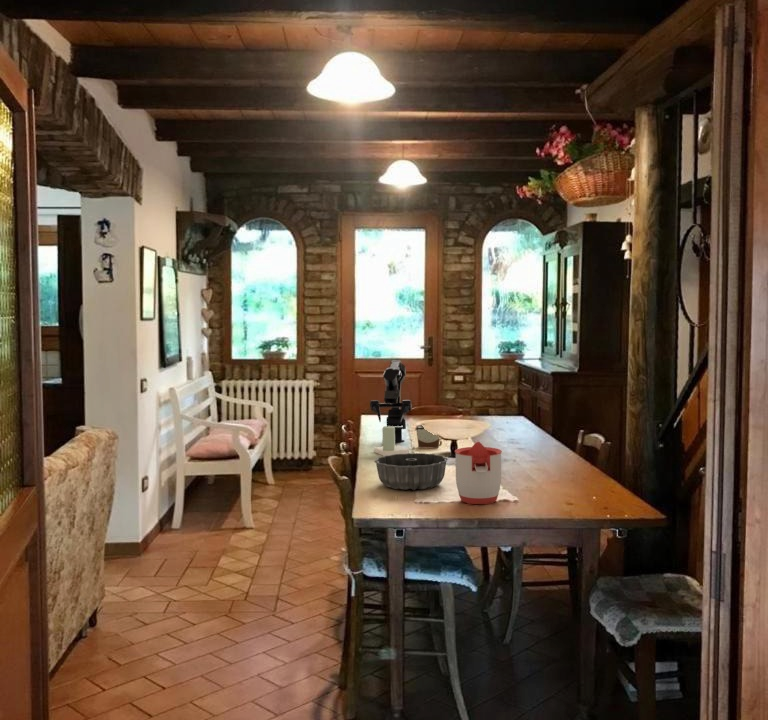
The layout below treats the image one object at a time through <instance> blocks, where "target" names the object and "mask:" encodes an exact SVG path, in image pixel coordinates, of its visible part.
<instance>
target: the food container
mask: <svg viewBox="0 0 768 720" xmlns="http://www.w3.org/2000/svg"><path fill="white" fill-rule="evenodd" d="M422 425H423V424H418V425H416V426H415V428H414V431H416V438H417V445H418V447H439V446H440V439H441V438H440V437H441V436H440V437H438V436H436V435H433V434H432V433H430V432H428V431H427V430H425V429H424V427H423V426H422Z"/></svg>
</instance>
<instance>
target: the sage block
mask: <svg viewBox="0 0 768 720" xmlns="http://www.w3.org/2000/svg"><path fill="white" fill-rule="evenodd" d="M395 427H396V426H387V425H385V426H383V427H382V447H383V451H394V450H395V446H396V442H395Z"/></svg>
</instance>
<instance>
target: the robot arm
mask: <svg viewBox="0 0 768 720" xmlns="http://www.w3.org/2000/svg"><path fill="white" fill-rule="evenodd" d="M382 375H383V379H384V384H385V390H384V397H383V401H384V402H380V400H378V399H371V400H370V401H369V405H370V406H369V407H370V411H372V412H373V413H375V414H376V415H377V418H378V421H379V423H381V420H382V418H381V417H382V415H381V408H390V409H388V412H387V416H386V426H395V443H401V442H402V443H404V442H405V440H404V439H403V430H406V429H407V428H406V427H407V424H406V423H407V421H406V419H405V415H406V414H407V413H409V412H412V410H413V408H412V407H413V406H412V400H410V399H402V401H401V396H402V392H401V391H402V384H403V383H404V382H405V377H406V375H407V370H406V365H404V364H403V363H402V361H401V360H399V359H397V360H395V359H393V360H391V361H390V364H389V365H388V367H386V369H385V370H384V371H383V374H382Z"/></svg>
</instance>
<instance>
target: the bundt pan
mask: <svg viewBox="0 0 768 720" xmlns="http://www.w3.org/2000/svg"><path fill="white" fill-rule="evenodd" d="M447 461H448V458H447V457H445V455H440V454H435V453H426V452H425V453H424V452H423V453H422V452H421V453H420V452H419V453H417V452H415V453H413V452H412V453H411V452H409V453H407V454H393V455H388V456H379V457H377V458H376V459H375V460H374V463H375V464H376V470H377V475H378V479H379V481H380V482H381V483H382V484H383V485H384V486H386V487H388V488H391V489H394V490H403V491H407V490H412V491H416V490H417V489H418V490H425V489H432V488H434V487H436V486H438V485H440V484H441V482H442V481H443V479H444V478H445V474H446V466H447Z"/></svg>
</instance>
